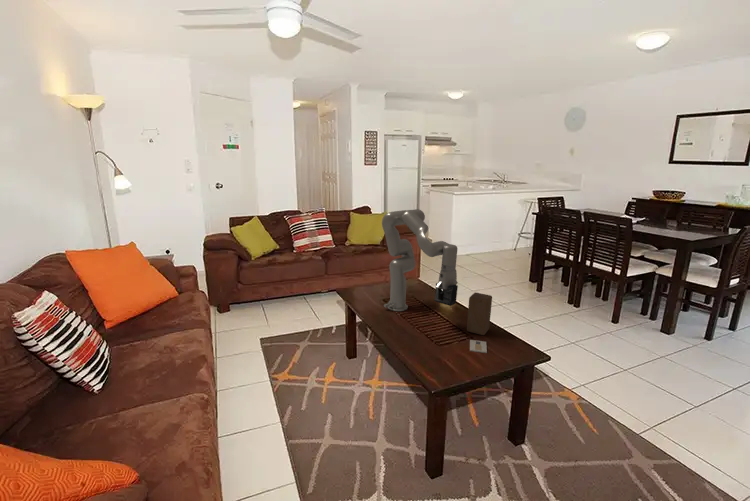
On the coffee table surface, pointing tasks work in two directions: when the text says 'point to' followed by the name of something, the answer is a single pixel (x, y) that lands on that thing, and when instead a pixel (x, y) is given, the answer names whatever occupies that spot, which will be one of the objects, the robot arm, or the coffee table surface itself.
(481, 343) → the card
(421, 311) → the coffee table surface
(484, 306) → the wooden block
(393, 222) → the robot arm
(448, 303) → the small box
